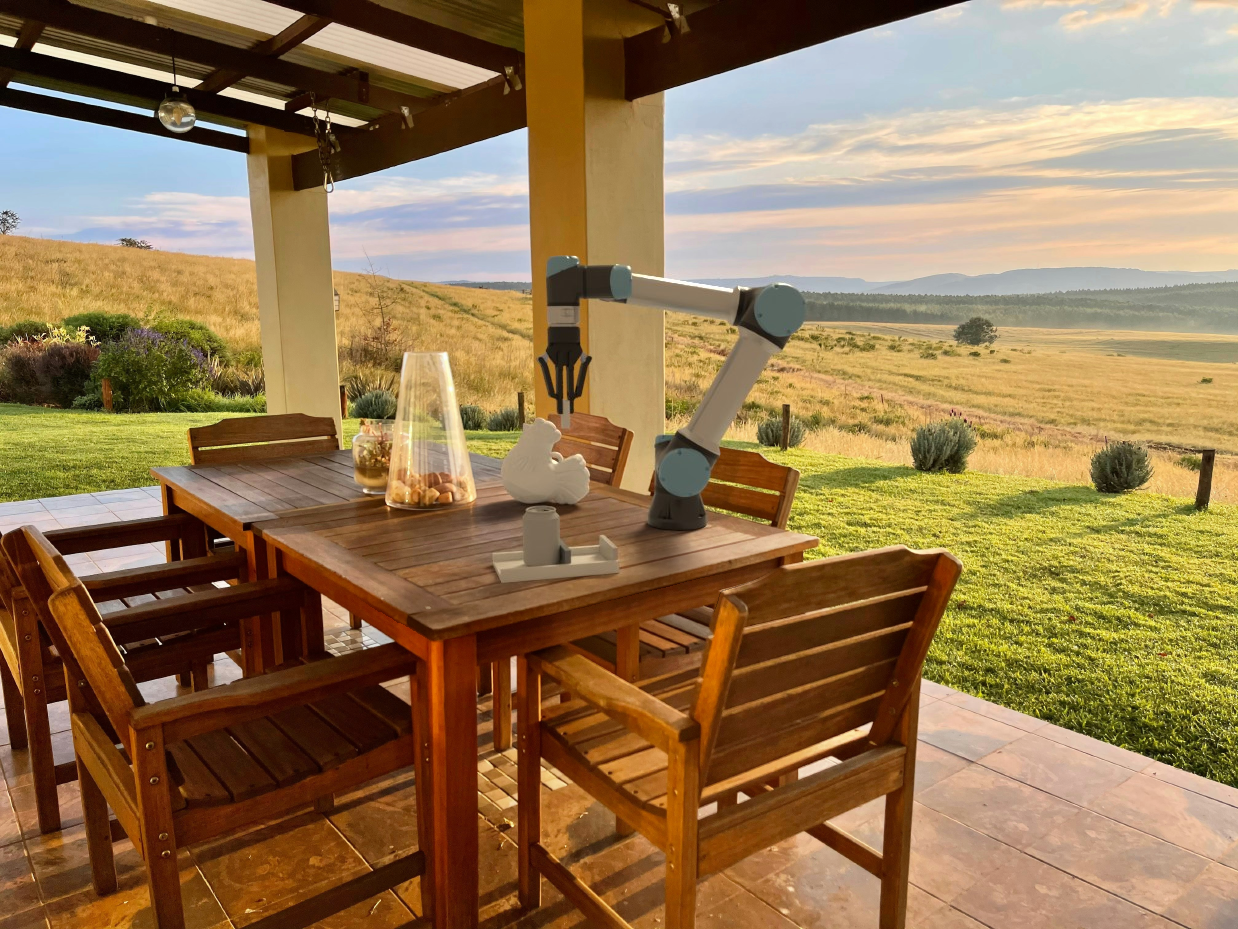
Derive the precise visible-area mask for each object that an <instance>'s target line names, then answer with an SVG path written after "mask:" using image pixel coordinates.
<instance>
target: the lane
mask: <svg viewBox="0 0 1238 929" xmlns="http://www.w3.org/2000/svg"><path fill="white" fill-rule="evenodd" d="M598 536H599V539H598V540H599V541H598V543H599V544H596V545H595V544H594V545H582V546H580V545H579V546H568V548H569V549H570V550H571V563H570V564H560V562H558V563H557V564H556V565H546V566H533V567H528V566H527V565H526V564H525V563H524V562H523V550H516V551H503V552H492V566H493V568H494V570H495V573H496V574H497V576H498V578H499V580H500V583H501V584H504V583H516V582H517V583H518V582H528V581H529V582H530V581H539V580H552V579H563V578H574V577H575V578H576V577H585V576H586V577H587V576H598V575H610V574H619V573H620V560H619V548H618V546H617V545H615V543H613V542H612V541H611V539H609V538H608V537H607V536H606V535H605V534H599V535H598Z"/></svg>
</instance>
